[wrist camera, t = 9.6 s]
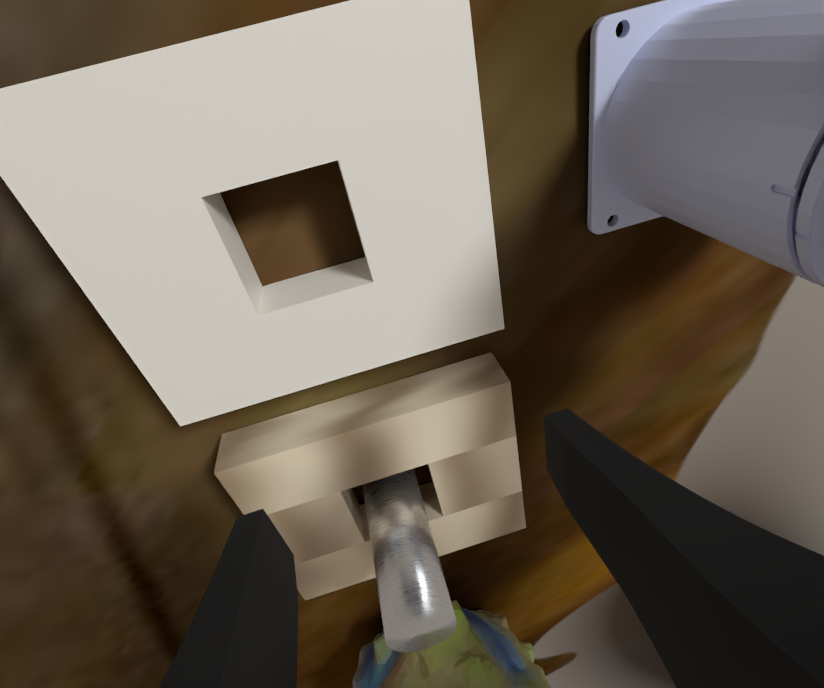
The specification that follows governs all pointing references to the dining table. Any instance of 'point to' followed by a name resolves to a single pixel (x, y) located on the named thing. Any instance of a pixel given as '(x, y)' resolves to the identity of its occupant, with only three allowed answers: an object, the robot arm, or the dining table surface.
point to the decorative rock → (455, 659)
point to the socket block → (256, 161)
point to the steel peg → (407, 565)
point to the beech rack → (382, 467)
